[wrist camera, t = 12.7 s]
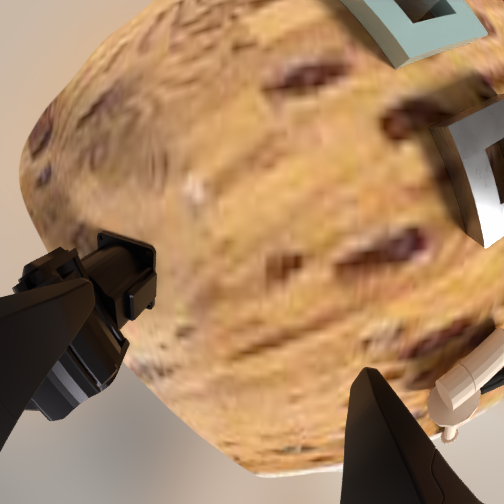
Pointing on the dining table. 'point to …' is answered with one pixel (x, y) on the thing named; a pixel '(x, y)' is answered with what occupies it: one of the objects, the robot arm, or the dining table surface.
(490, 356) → the toilet paper hanger
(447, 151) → the socket block
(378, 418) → the robot arm
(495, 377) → the handgun
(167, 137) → the dining table surface
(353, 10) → the block
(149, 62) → the dining table surface
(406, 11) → the steel pin
